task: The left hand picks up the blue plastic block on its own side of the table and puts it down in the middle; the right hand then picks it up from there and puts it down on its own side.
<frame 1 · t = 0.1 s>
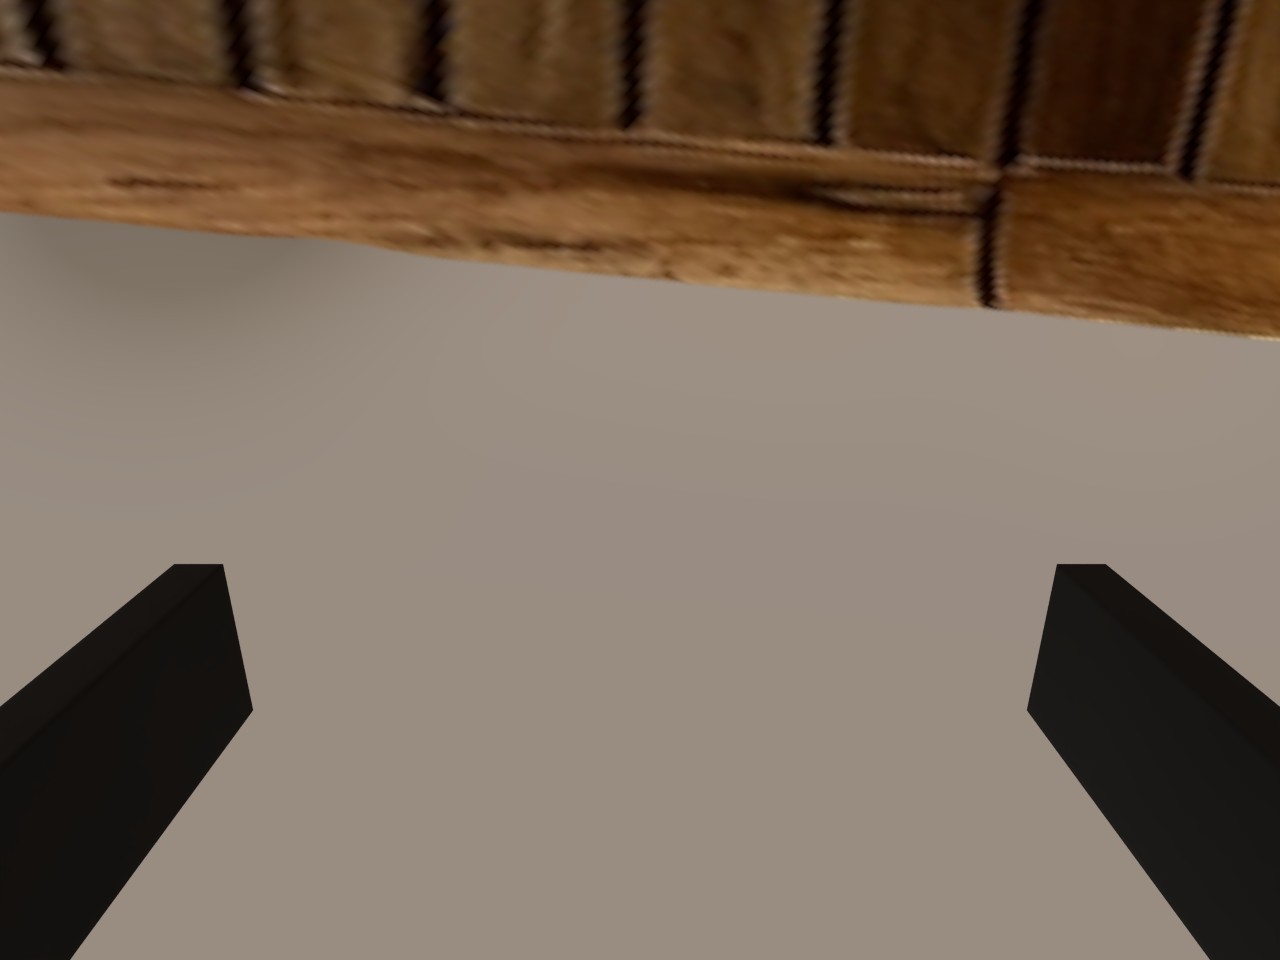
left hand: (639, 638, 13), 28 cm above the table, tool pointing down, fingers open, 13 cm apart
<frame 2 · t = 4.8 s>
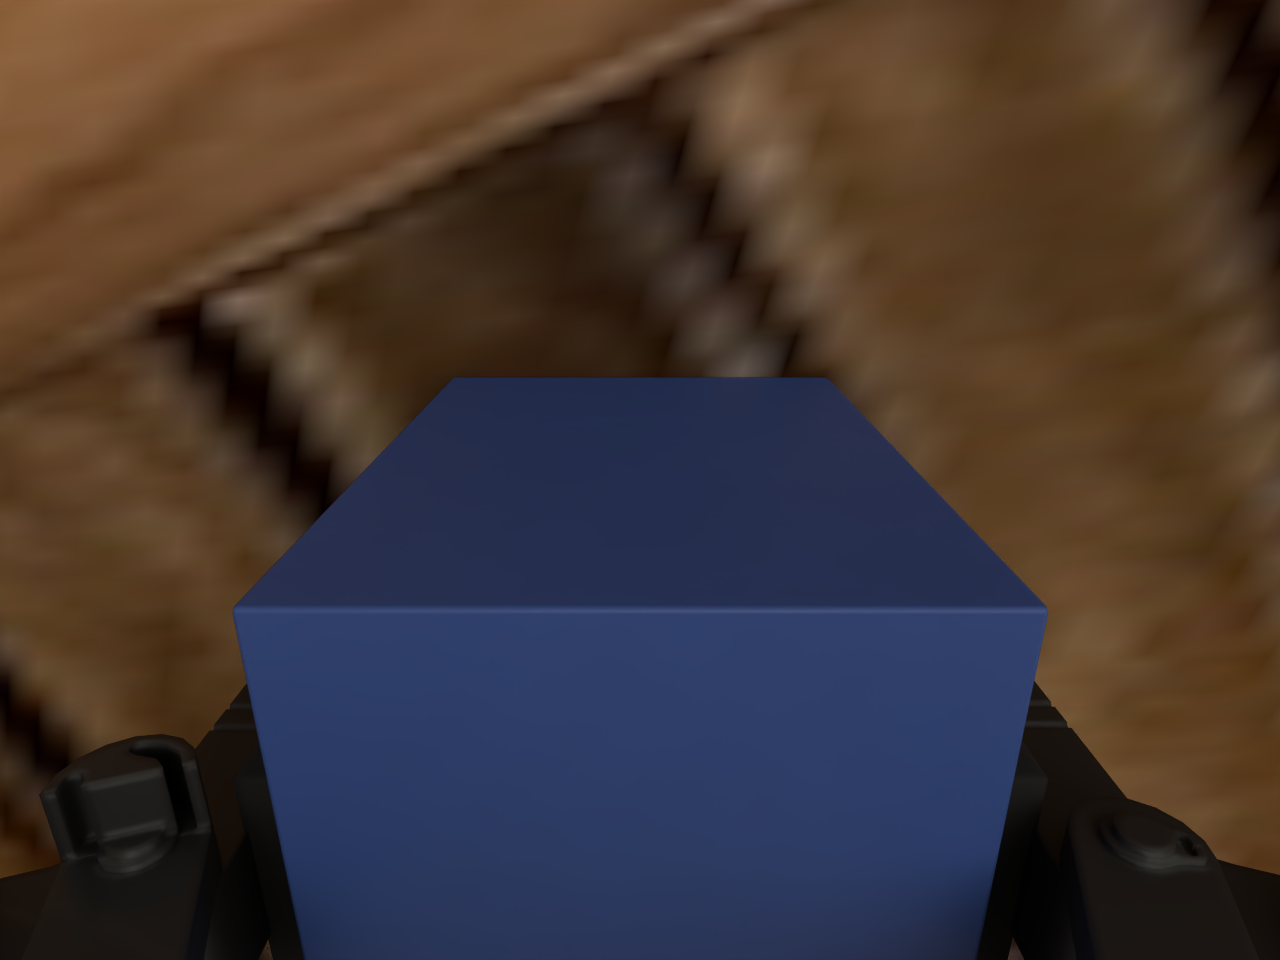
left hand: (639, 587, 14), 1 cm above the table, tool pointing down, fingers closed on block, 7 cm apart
block: (640, 564, 15), on the table, touching left hand
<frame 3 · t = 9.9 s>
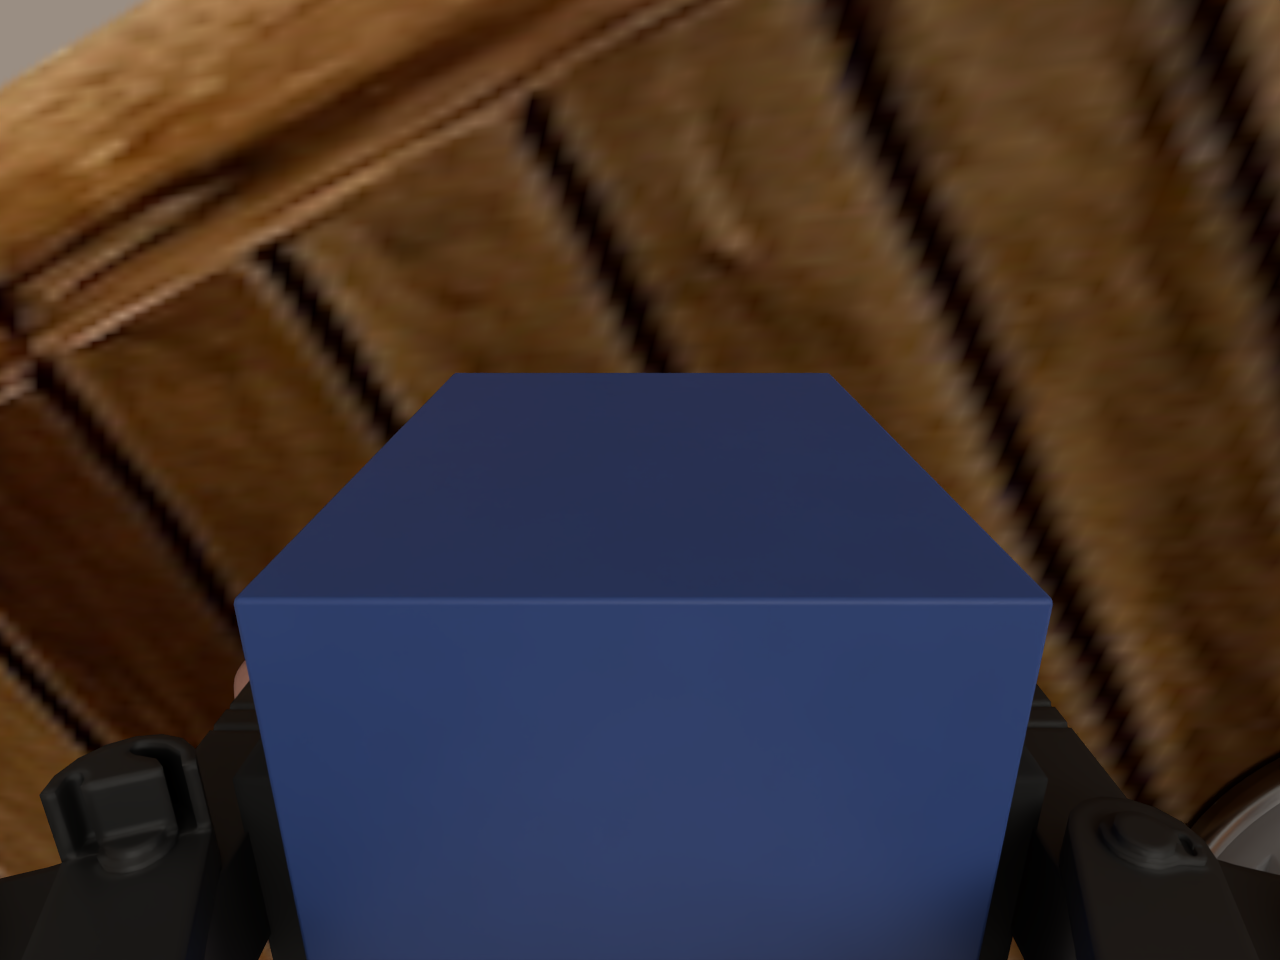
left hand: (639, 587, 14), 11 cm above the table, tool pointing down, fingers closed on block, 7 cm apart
block: (641, 561, 15), point 11 cm above the table, touching left hand
anatomical model: (412, 690, 29), on the table
when the left hand's fingers open (3 cm above the table, at t = 15.1 s): block drops 2 cm, on the table.
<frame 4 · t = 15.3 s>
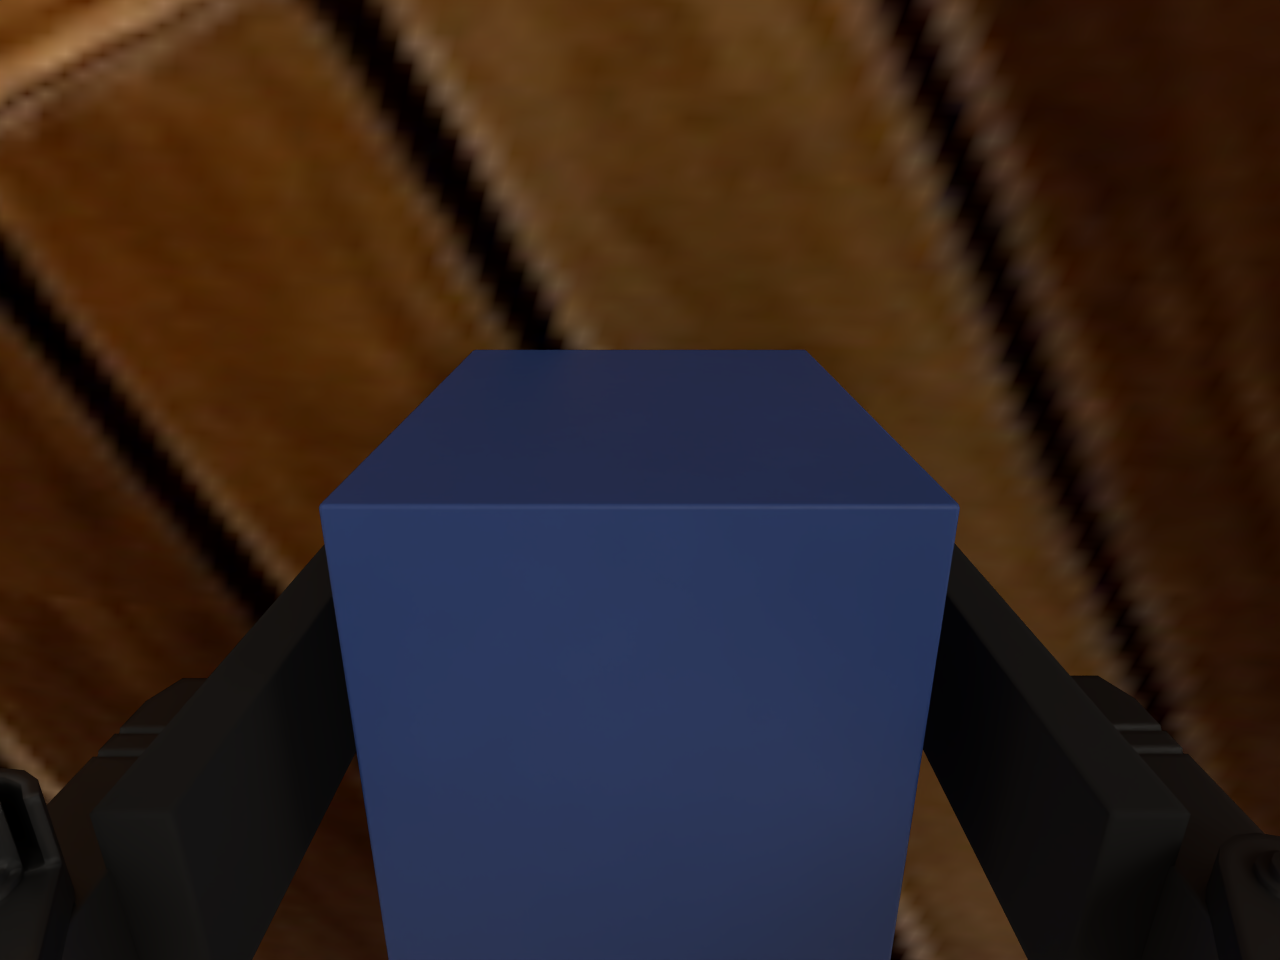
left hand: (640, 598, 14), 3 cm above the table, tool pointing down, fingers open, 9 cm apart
block: (639, 520, 17), on the table
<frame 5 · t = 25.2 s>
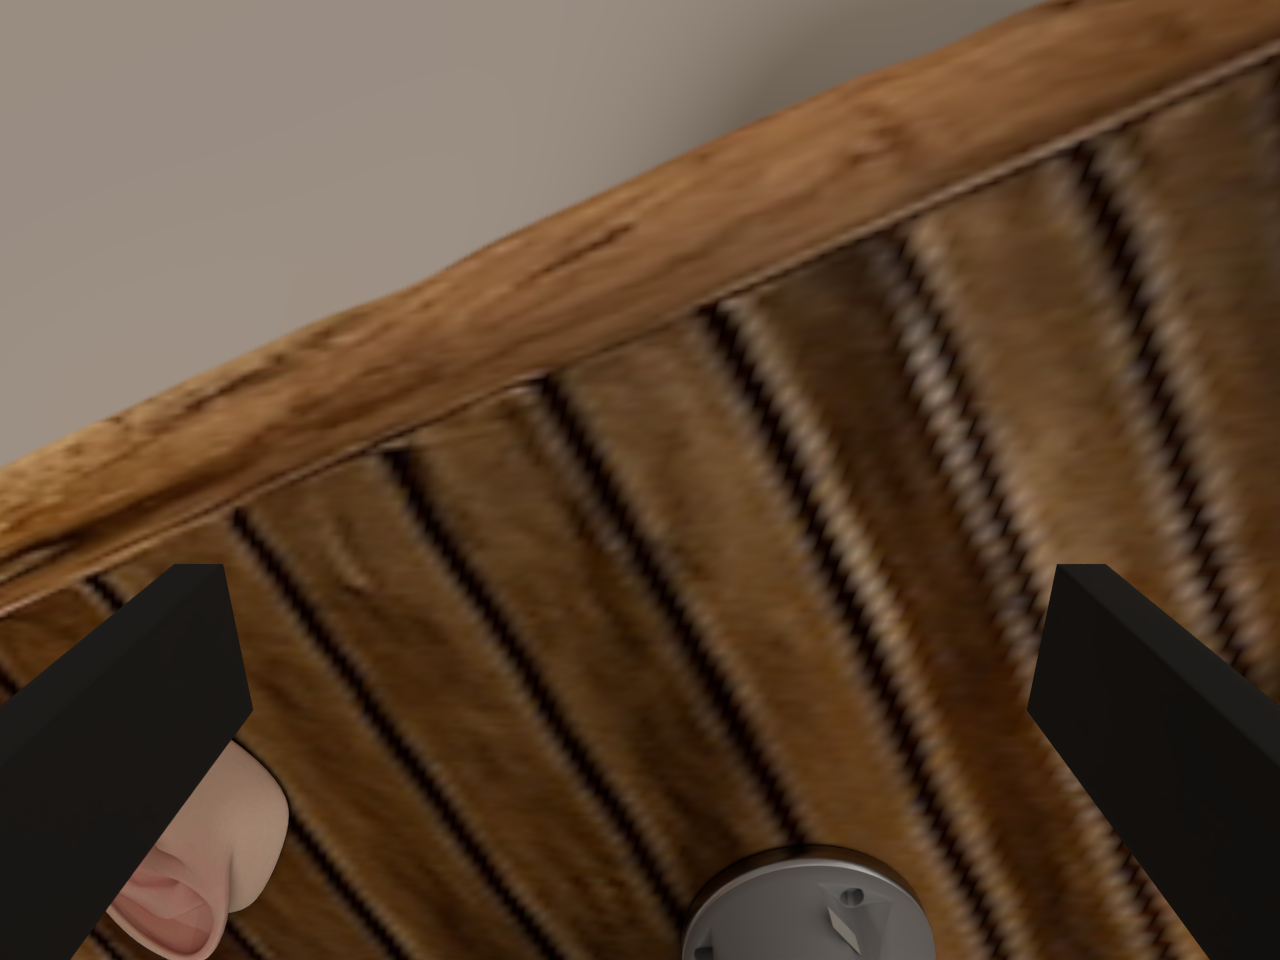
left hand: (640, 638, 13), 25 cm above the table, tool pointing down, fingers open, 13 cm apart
anatomical model: (195, 813, 46), on the table
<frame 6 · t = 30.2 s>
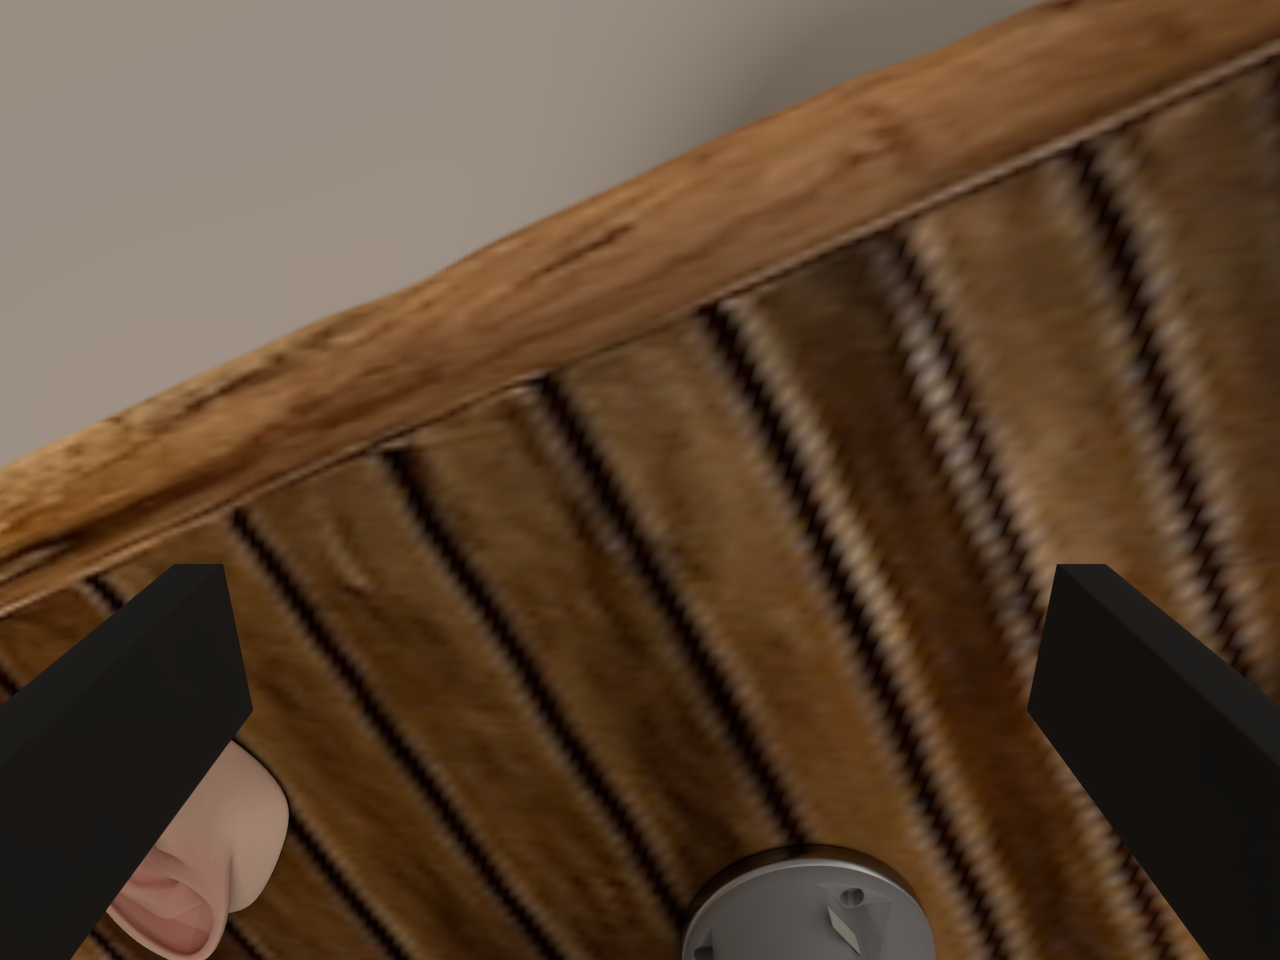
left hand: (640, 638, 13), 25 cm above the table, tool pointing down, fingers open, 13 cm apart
anatomical model: (195, 813, 46), on the table
when the right hand's fingers open (3 cm above the table, at t = 35.4 s): block drops 2 cm, on the table.
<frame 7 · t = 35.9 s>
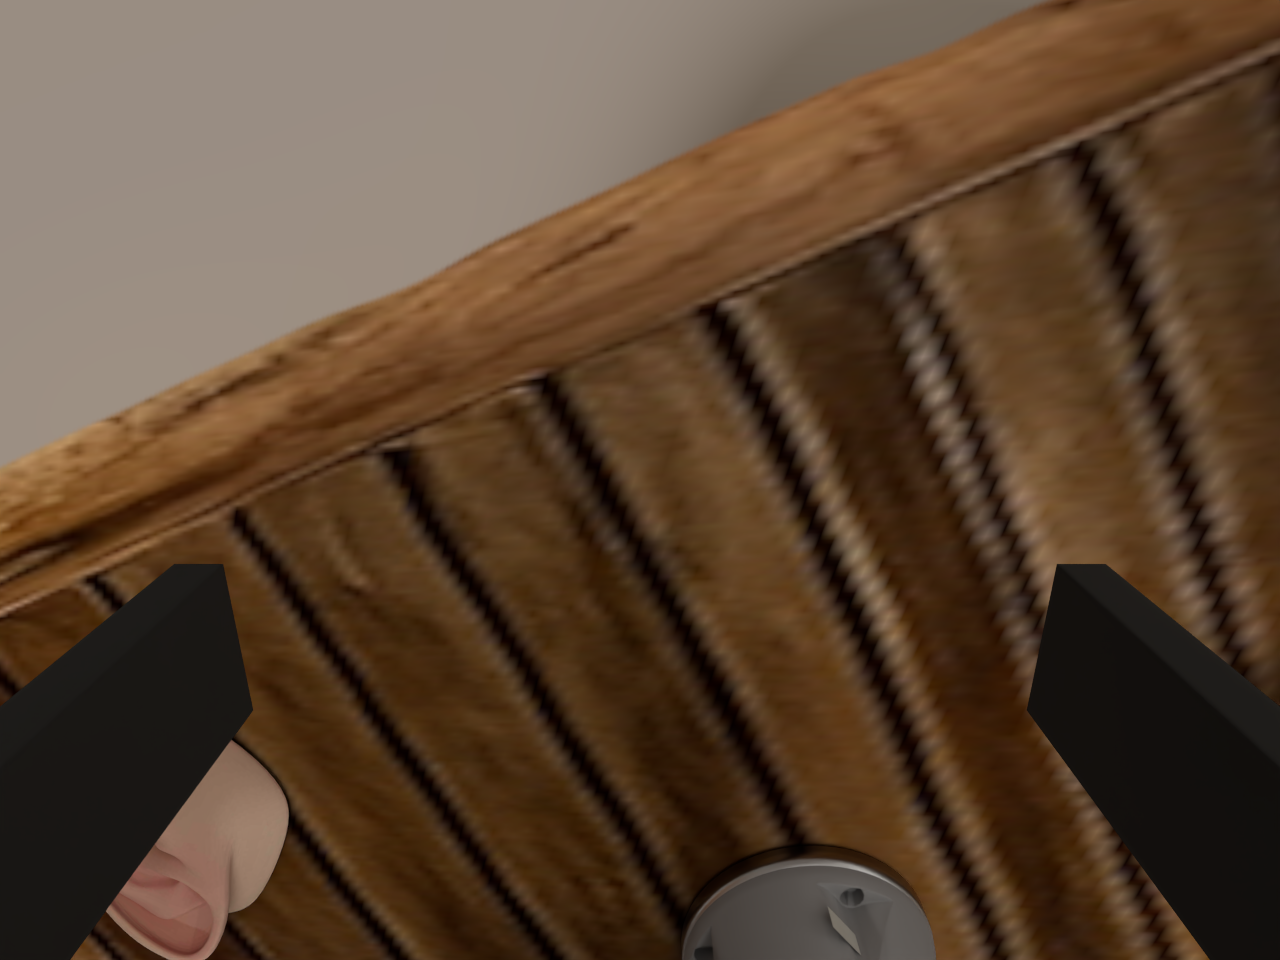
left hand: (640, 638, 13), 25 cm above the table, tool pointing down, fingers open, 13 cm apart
anatomical model: (195, 813, 46), on the table
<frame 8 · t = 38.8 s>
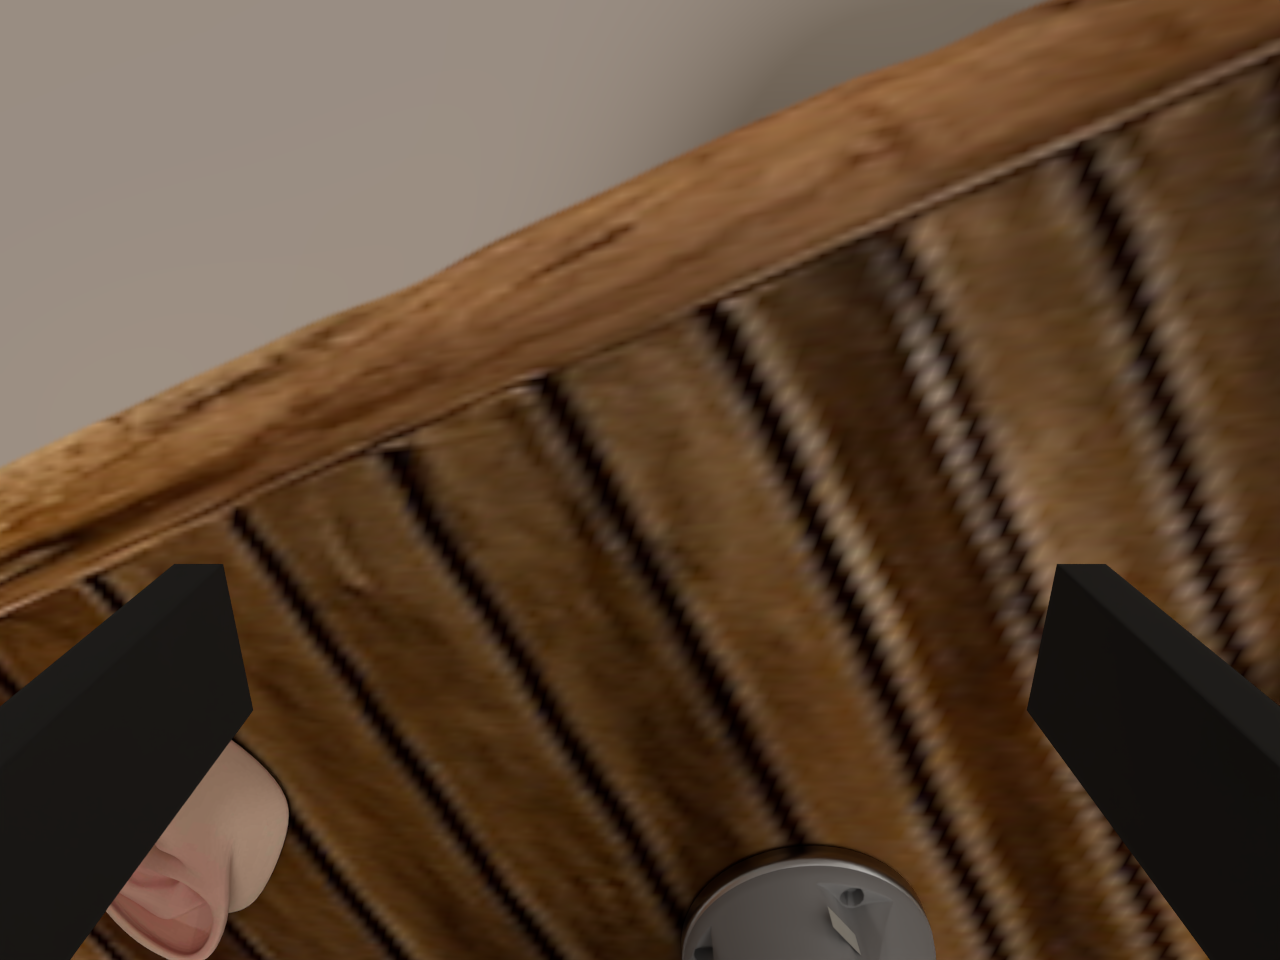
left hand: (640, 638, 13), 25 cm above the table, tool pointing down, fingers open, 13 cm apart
anatomical model: (195, 813, 46), on the table
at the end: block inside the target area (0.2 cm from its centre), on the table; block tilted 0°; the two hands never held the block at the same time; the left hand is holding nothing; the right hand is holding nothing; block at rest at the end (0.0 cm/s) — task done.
